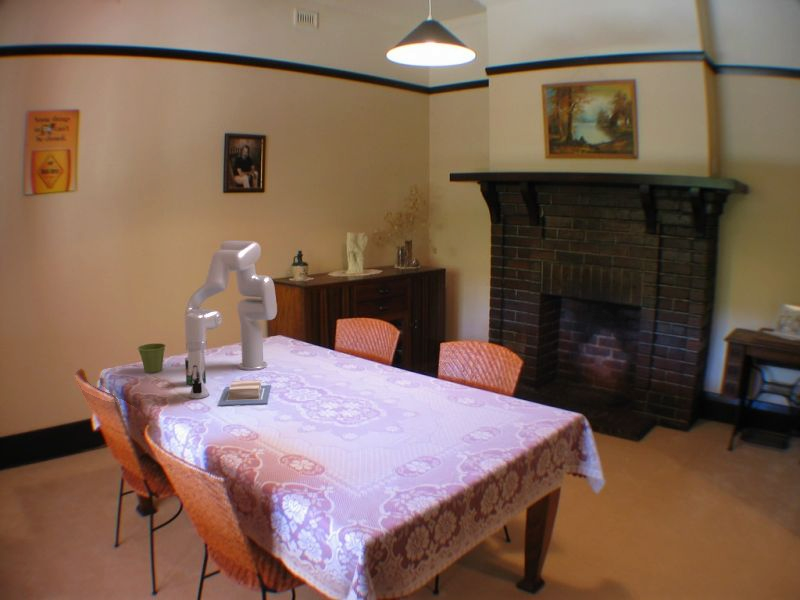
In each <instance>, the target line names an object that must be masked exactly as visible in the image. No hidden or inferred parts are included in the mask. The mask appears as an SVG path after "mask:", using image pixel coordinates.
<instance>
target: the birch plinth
mask: <svg viewBox="0 0 800 600" xmlns="http://www.w3.org/2000/svg"><path fill="white" fill-rule="evenodd" d="M261 386H262V380H261V379H255V380H253V379H251V380H232V381H231V384H230V386H229V387H230V388H229V400H234V399H259V396H260V392H261Z"/></svg>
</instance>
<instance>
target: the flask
mask: <svg viewBox="0 0 800 600" xmlns="http://www.w3.org/2000/svg"><path fill="white" fill-rule="evenodd" d="M197 375H199V374H197ZM197 378H198V380H199V377H197ZM200 383H201V386H202V393H193V385H192V386H191V389H190V392H189V395H188V398H190V399H197V400H199V399H203V398H207V397H208V396H209V395H210V393H209V391H208V389H207V387H206V384H204V382H203V379H202V375H201V378H200Z"/></svg>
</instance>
